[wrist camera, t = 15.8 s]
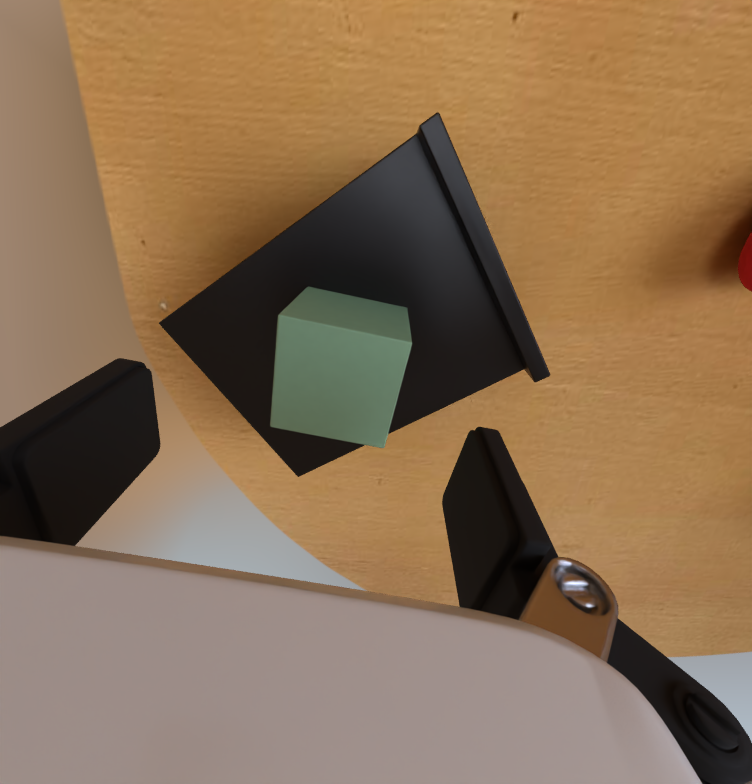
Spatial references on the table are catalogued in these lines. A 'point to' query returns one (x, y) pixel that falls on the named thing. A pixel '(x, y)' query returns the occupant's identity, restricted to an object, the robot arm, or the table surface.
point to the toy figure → (746, 264)
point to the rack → (372, 293)
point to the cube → (339, 366)
